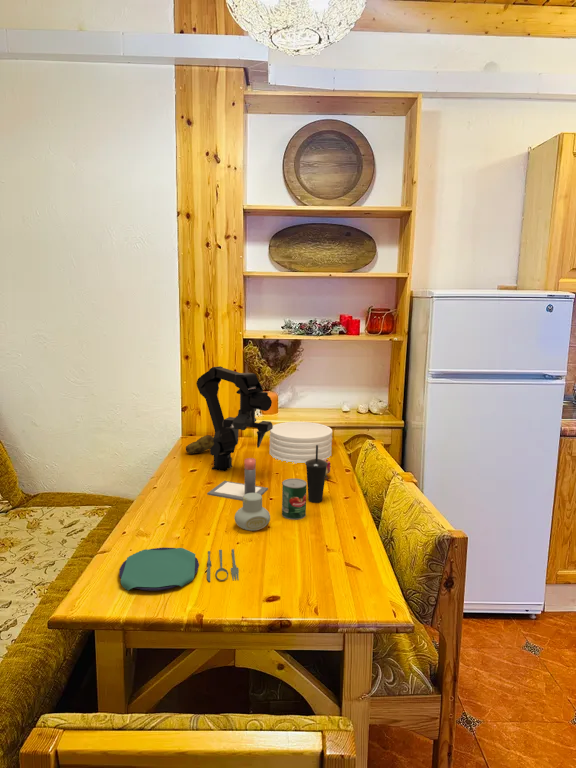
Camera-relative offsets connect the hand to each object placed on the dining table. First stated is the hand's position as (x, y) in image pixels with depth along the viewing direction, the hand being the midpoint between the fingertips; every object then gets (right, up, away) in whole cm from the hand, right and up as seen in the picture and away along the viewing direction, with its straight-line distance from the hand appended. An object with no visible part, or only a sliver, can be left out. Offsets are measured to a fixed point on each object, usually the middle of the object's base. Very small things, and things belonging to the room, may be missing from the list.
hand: (247, 445), depth 194 cm
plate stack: (+21, -8, +34) cm, 41 cm away
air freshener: (+5, -20, -38) cm, 44 cm away
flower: (+28, -13, +4) cm, 31 cm away
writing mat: (-2, -15, -12) cm, 19 cm away
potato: (-23, -7, +32) cm, 40 cm away
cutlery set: (-12, -25, -64) cm, 70 cm away
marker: (+2, -15, -17) cm, 23 cm away
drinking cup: (+25, -17, -17) cm, 35 cm away
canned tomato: (+18, -19, -29) cm, 39 cm away
